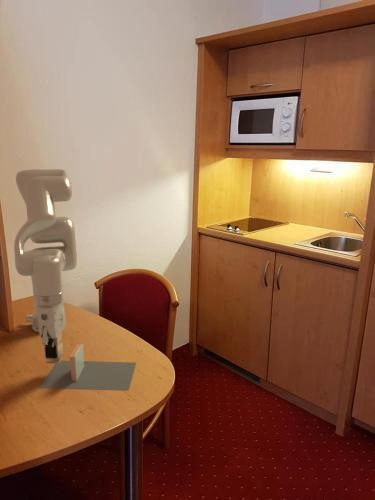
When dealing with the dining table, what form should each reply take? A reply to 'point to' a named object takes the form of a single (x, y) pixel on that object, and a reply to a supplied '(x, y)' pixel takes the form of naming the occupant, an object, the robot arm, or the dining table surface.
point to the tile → (77, 362)
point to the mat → (91, 376)
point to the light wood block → (58, 348)
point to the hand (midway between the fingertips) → (54, 353)
